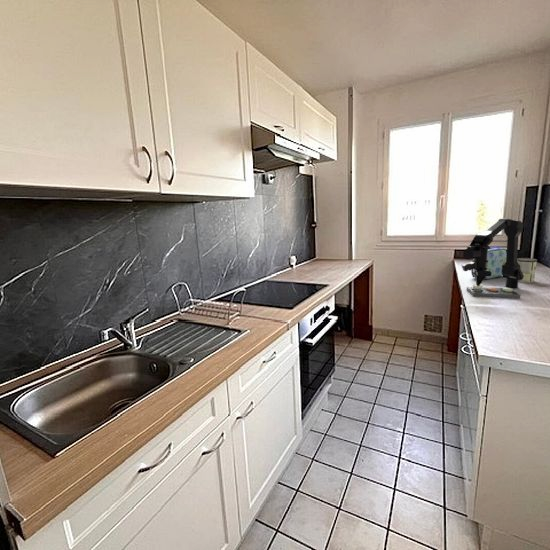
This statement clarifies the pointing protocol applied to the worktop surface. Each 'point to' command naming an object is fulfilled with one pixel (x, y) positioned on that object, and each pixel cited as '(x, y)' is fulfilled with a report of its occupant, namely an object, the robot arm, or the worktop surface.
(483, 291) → the console
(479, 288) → the button ivory
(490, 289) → the button terracotta
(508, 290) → the button sage
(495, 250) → the lunch box
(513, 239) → the robot arm
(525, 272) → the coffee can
